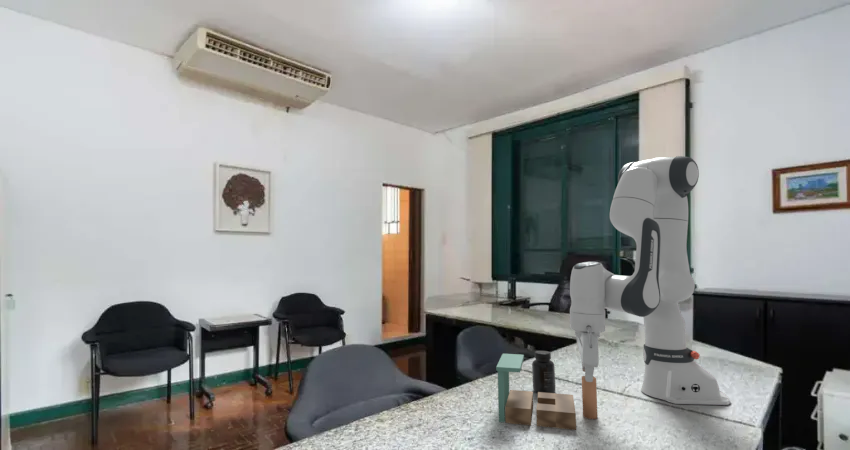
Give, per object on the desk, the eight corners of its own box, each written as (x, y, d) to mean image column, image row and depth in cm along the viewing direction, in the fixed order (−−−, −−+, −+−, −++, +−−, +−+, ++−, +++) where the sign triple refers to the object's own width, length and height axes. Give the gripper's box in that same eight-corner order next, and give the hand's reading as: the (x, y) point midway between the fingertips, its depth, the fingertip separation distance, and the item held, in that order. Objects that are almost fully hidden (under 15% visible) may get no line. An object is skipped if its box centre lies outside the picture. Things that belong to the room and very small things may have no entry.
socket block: (573, 409, 117) (572, 394, 117) (576, 430, 104) (575, 413, 104) (510, 404, 122) (510, 389, 122) (505, 422, 108) (505, 406, 109)
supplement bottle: (556, 389, 135) (554, 350, 135) (555, 395, 128) (553, 355, 129) (533, 387, 137) (532, 349, 138) (531, 393, 131) (530, 353, 131)
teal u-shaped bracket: (525, 404, 121) (523, 354, 122) (521, 425, 107) (520, 368, 108) (503, 402, 123) (502, 353, 124) (497, 422, 108) (496, 366, 109)
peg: (596, 414, 113) (595, 376, 114) (598, 419, 110) (596, 380, 110) (582, 413, 114) (581, 375, 115) (583, 418, 111) (582, 379, 111)
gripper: (605, 330, 102) (605, 389, 101) (595, 318, 122) (596, 367, 121) (577, 328, 104) (577, 386, 103) (572, 316, 124) (572, 365, 123)
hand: (587, 376), depth 112 cm, fingers open, 8 cm apart
